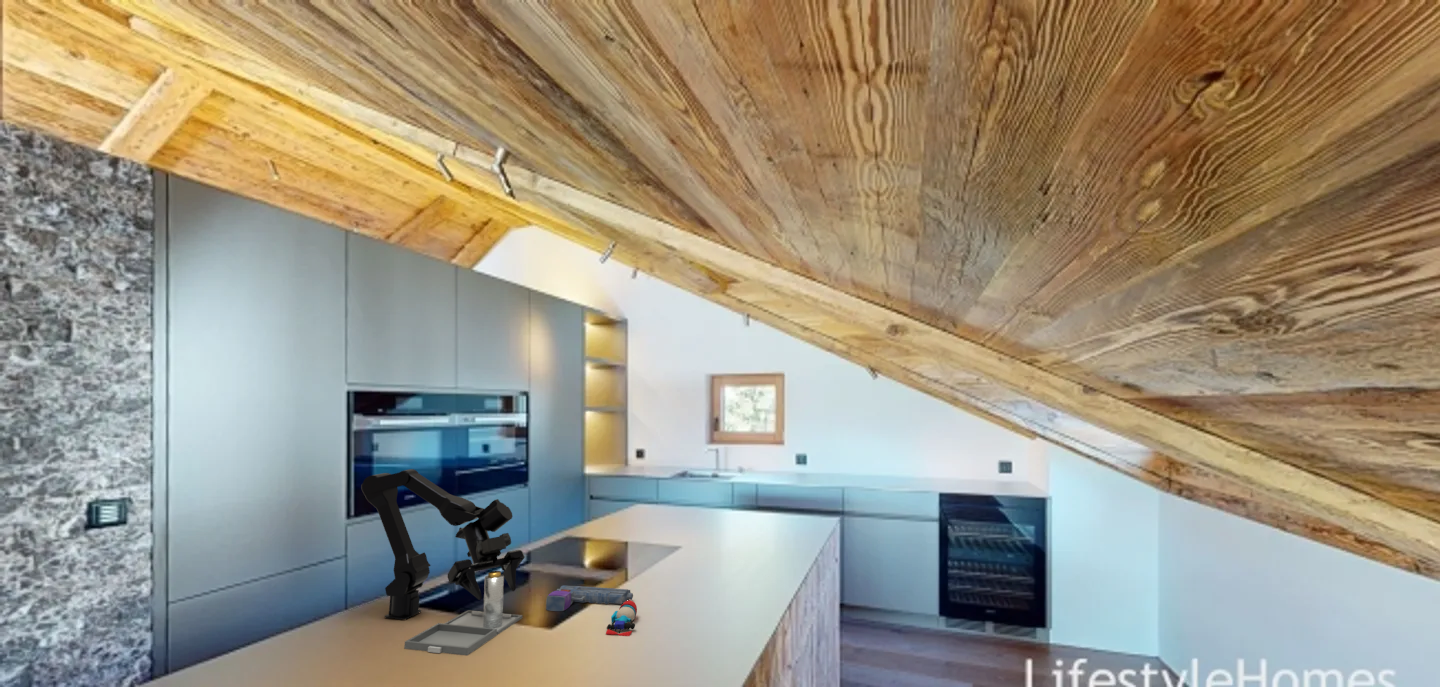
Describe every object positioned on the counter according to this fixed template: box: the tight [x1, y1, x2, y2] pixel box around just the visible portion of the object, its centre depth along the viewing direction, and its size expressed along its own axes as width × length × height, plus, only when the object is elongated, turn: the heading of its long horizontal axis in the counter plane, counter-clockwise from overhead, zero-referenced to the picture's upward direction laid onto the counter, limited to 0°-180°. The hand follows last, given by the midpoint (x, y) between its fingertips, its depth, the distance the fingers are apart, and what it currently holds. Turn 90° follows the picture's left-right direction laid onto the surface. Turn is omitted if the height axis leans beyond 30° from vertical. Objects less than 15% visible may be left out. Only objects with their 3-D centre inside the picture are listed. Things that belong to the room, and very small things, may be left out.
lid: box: [443, 609, 523, 636], centre depth 153 cm, size 16×13×2 cm
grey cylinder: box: [483, 570, 505, 628], centre depth 152 cm, size 5×5×13 cm
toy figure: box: [605, 599, 638, 637], centre depth 157 cm, size 8×5×15 cm
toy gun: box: [545, 585, 634, 612], centre depth 172 cm, size 4×23×15 cm
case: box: [403, 622, 498, 656], centre depth 141 cm, size 16×13×2 cm
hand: (497, 594), depth 151 cm, fingers open, 9 cm apart
